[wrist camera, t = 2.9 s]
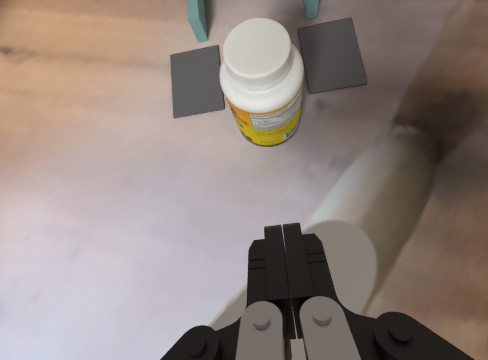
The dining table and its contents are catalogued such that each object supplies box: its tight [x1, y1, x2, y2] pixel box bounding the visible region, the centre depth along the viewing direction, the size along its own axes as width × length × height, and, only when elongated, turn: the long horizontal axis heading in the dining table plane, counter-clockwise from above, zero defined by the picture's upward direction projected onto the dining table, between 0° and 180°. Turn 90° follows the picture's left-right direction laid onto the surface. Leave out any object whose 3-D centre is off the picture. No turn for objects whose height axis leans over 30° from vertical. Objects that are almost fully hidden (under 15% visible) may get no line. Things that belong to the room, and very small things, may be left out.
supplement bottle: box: [219, 18, 304, 148], centre depth 21 cm, size 6×6×10 cm
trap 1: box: [298, 18, 367, 94], centre depth 26 cm, size 5×7×1 cm
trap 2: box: [170, 45, 224, 118], centre depth 28 cm, size 5×7×1 cm
